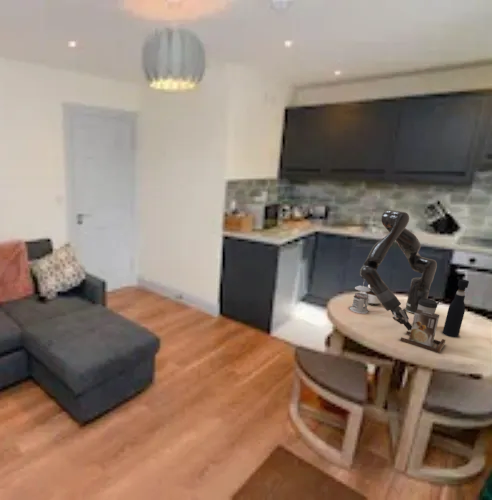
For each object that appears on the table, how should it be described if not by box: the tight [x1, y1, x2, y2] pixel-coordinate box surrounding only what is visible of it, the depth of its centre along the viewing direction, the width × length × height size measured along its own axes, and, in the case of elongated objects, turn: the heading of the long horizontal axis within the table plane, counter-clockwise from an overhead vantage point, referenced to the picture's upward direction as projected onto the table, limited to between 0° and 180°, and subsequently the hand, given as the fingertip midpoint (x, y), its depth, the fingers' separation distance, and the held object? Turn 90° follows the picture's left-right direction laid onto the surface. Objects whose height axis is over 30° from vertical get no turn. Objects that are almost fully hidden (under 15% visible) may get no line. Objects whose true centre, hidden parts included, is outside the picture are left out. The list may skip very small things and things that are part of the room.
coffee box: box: [408, 309, 440, 347], centre depth 180 cm, size 9×6×16 cm
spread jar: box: [359, 284, 381, 306], centre depth 229 cm, size 12×11×12 cm
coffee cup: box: [417, 298, 438, 314], centre depth 198 cm, size 8×8×15 cm
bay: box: [400, 330, 446, 354], centre depth 182 cm, size 11×16×3 cm
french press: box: [349, 279, 371, 315], centre depth 215 cm, size 10×12×25 cm
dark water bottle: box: [442, 278, 470, 338], centre depth 187 cm, size 6×6×30 cm
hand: (410, 329), depth 185 cm, fingers closed
